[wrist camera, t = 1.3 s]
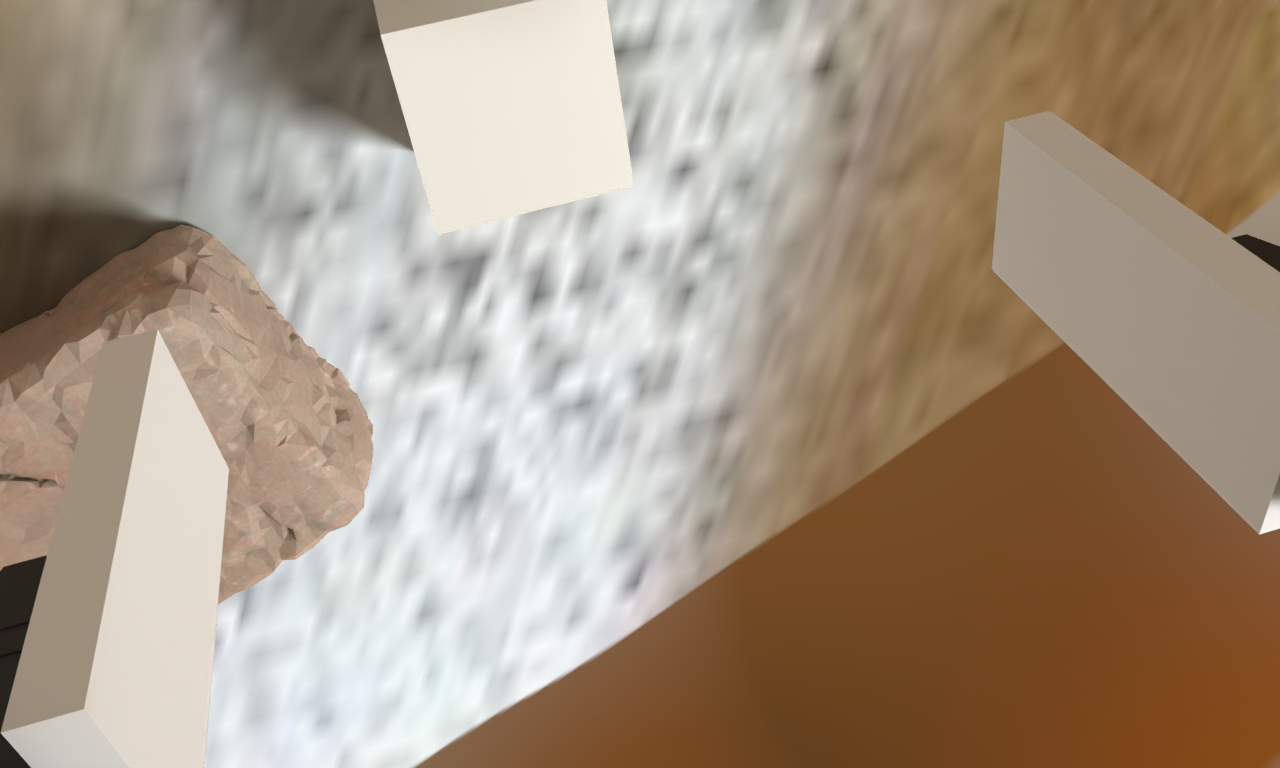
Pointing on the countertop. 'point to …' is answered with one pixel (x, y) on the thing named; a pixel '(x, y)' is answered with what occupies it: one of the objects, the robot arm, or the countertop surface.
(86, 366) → the brick
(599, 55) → the beige cube
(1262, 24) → the countertop surface
